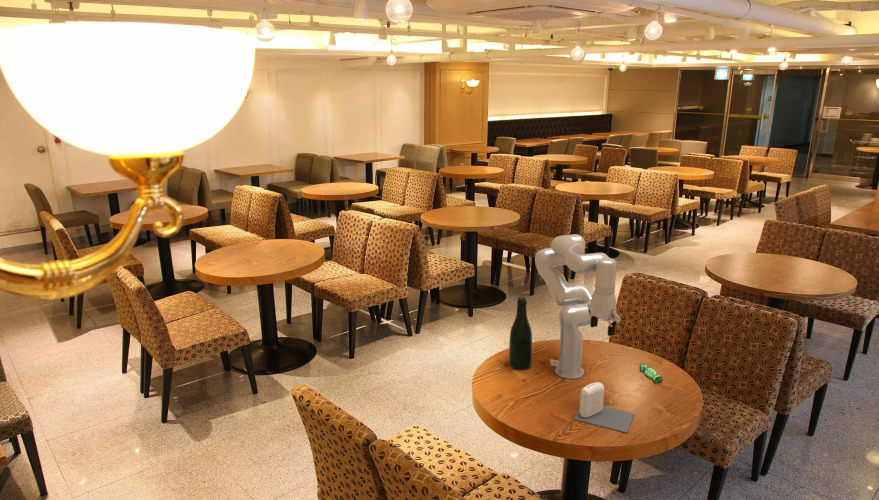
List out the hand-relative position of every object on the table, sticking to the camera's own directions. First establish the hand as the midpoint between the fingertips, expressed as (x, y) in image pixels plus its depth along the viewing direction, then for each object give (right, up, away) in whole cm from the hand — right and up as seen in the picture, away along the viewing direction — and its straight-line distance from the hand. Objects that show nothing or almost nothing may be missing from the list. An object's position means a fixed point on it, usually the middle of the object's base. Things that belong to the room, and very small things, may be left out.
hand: (602, 330), depth 231 cm
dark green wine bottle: (-27, -21, +36) cm, 50 cm away
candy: (+28, -24, +24) cm, 44 cm away
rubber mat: (-1, -32, -6) cm, 33 cm away
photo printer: (-6, -31, -4) cm, 32 cm away
